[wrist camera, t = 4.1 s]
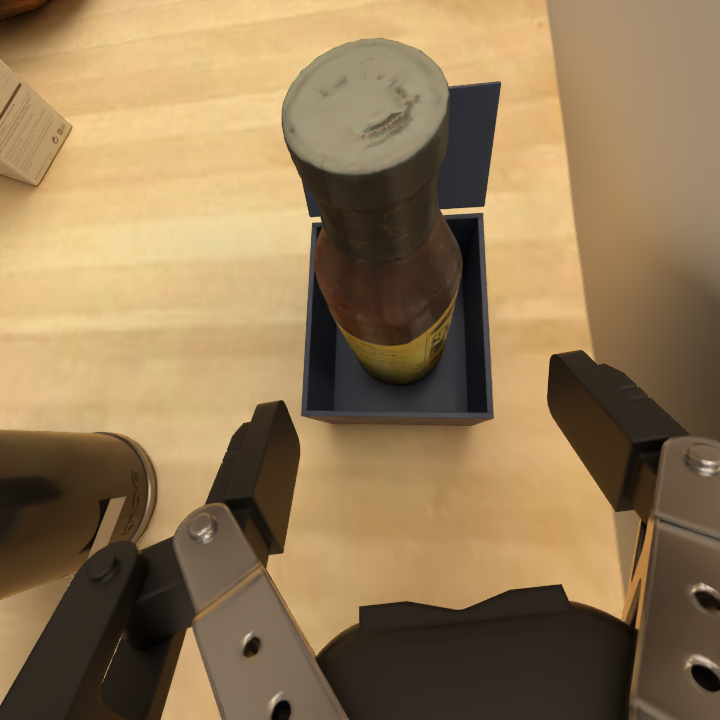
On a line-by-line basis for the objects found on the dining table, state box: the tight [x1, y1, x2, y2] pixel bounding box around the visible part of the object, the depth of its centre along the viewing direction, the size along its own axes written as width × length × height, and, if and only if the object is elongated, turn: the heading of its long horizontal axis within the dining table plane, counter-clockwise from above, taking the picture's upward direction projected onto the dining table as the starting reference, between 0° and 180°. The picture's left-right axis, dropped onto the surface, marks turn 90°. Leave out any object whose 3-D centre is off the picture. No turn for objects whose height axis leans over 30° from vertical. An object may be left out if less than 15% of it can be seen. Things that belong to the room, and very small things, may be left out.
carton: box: [301, 213, 494, 426], centre depth 25 cm, size 10×12×7 cm
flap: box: [302, 81, 501, 217], centre depth 20 cm, size 10×6×1 cm
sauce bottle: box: [282, 38, 462, 386], centre depth 18 cm, size 6×6×20 cm
